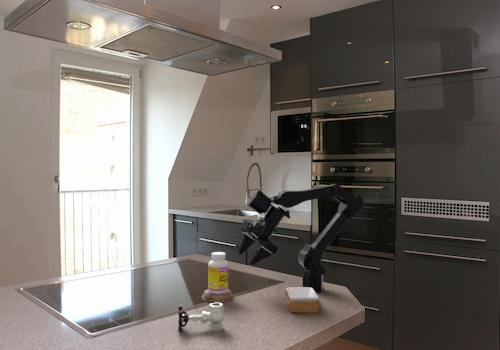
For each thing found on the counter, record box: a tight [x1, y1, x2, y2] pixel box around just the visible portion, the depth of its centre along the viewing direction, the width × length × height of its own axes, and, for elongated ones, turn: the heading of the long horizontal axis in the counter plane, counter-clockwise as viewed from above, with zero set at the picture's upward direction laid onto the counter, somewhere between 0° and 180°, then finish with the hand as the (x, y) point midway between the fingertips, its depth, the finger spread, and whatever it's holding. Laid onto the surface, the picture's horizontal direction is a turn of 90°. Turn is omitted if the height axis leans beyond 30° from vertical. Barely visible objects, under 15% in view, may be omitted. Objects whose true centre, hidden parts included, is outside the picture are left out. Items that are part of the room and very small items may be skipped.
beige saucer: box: [201, 288, 234, 303], centre depth 136 cm, size 10×10×2 cm
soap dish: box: [283, 286, 322, 314], centre depth 128 cm, size 12×10×5 cm
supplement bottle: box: [207, 251, 229, 294], centre depth 136 cm, size 7×7×13 cm
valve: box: [177, 302, 225, 332], centre depth 109 cm, size 7×7×12 cm
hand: (245, 259), depth 142 cm, fingers open, 9 cm apart
